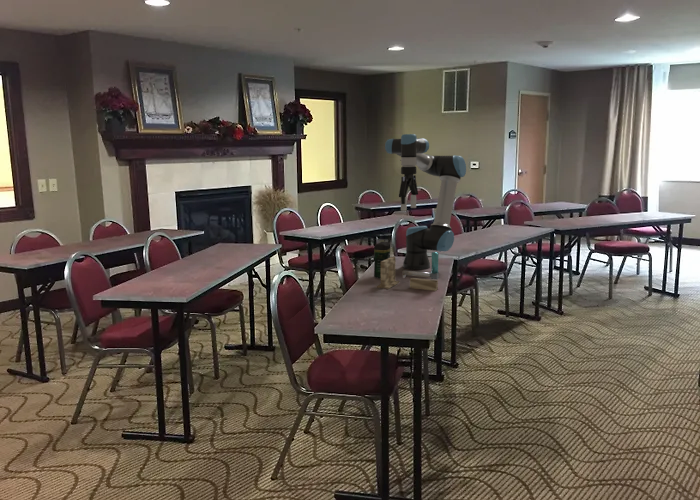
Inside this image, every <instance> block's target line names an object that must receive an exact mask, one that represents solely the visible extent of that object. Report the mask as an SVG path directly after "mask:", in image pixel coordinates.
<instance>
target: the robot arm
mask: <svg viewBox="0 0 700 500" xmlns="http://www.w3.org/2000/svg"><path fill="white" fill-rule="evenodd" d="M384 145H385V146H384V149H385V151H386V153H387V154H391V155H394V154H395V155H397V156H399V157H400V159H399V160H400V165H401V168H400V174H401V175H404V176H401V179H400V181H401V182H400V186H399V191H398V193H399V194H398V198H400V211H402V212H403V211H404V212H407V209H408V208H407V204H408V203H407V200H408V199H407V193H408V191H410V208H411V209H416V208H417V196H418V195H419V190H418V185H417V176H416V174H417V168H418V169H419V170H420V171H422V172H424V173H426V174H427V175H430V176H434V177H438V178H439V180H440V181H441V182H440V189H439V191H438V199H437V204H436V208H435V209H436V210H435V215H434V221H433V223H431V224H430V226H429V228H428V226H427V225H418V226H417V225H416V226H410V227H408V228H406V231H405V237H406V239H405V243H406V244H405V245H406V246H405V251H406V253H405V256H404V260H403V262H402V267H403V268H404V269H408V270H415V269H416V271H417V270H427V269H430V268H431V262H430V259H429V256H428V251H432V252H438V253H439V252H448V251H450V250H451V248H452V247H453V245H454V241H455V233H454V232H453V231H452V227H451V226H450V224H451V219H452V213H453V208H454V201H455V196H456V190H457V184H458V183H460V182H461V179H462V178H464V177H465V176H466V173H467V164H466V161H465V158H464V157H463V156H462V155H455V154H454V155H432V154H431V155H430V154H429V153H427V152H428V151H429V148H430V143H429V141H428V140H427V139H426V138H424V137H420V138H419V137H417V134H415V133H406V134H405V133H404V134H403V133H402V135H401V138H390V139H387V140H386V141H385V144H384ZM408 189H409V190H408Z"/></svg>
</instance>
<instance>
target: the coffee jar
mask: <svg viewBox="0 0 700 500" xmlns="http://www.w3.org/2000/svg"><path fill="white" fill-rule="evenodd" d="M373 251H374V252H373V253H374V256H373V257H374V265H373V267H374V268H373V277H374V278H376V279H381V261H384V260H386V259H388V258H390V257H391V243H390V242H389V241H380V242H378V243H375V244H374V246H373Z"/></svg>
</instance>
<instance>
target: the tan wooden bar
mask: <svg viewBox="0 0 700 500" xmlns="http://www.w3.org/2000/svg"><path fill="white" fill-rule="evenodd" d="M409 289H416V290H425V291H434V292H435V291H437V290H439V279H427V278H426V279H425V278H416V277H411V278H409Z"/></svg>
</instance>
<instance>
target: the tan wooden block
mask: <svg viewBox="0 0 700 500" xmlns="http://www.w3.org/2000/svg"><path fill="white" fill-rule="evenodd" d="M399 283H400V281H398V280H396V257H395V256H390V258H388V259H386V260H384V261H381V278H380V284H379V285H376V288H377V289H384V288H386V290H390V288H392V287H394V286H396V285H398V284H399Z"/></svg>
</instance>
